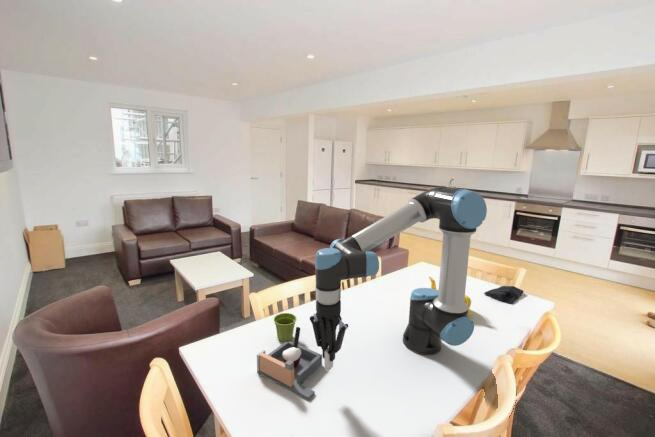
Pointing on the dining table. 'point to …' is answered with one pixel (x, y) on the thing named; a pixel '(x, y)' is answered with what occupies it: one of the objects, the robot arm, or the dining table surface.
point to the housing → (296, 368)
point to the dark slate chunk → (505, 294)
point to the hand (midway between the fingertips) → (328, 367)
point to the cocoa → (293, 350)
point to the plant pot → (285, 326)
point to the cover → (277, 369)
